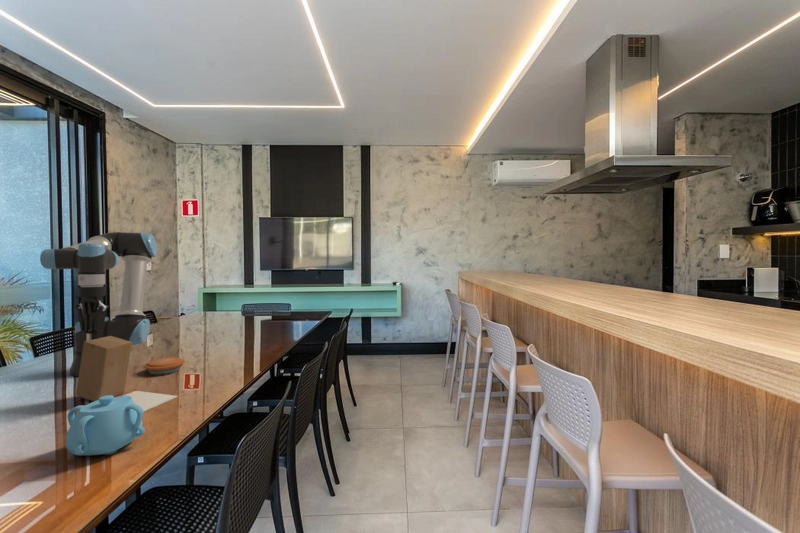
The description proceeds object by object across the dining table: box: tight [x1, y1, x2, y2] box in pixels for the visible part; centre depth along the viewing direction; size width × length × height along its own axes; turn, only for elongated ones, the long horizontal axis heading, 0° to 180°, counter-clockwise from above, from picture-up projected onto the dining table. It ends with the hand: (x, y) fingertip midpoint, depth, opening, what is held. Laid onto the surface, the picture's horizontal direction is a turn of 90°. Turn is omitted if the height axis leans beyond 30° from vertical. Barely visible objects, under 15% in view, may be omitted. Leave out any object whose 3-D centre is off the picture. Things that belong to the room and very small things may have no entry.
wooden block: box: [75, 336, 132, 402], centre depth 133 cm, size 10×10×20 cm
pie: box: [143, 356, 186, 376], centre depth 165 cm, size 16×16×5 cm
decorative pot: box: [65, 394, 146, 456], centre depth 100 cm, size 16×16×14 cm
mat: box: [125, 390, 178, 413], centre depth 130 cm, size 15×19×1 cm
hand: (92, 350), depth 134 cm, fingers closed
